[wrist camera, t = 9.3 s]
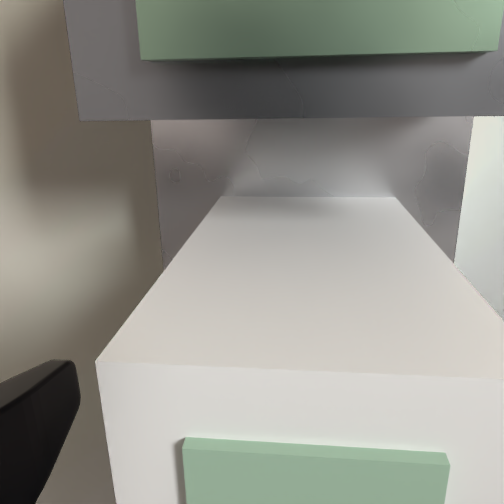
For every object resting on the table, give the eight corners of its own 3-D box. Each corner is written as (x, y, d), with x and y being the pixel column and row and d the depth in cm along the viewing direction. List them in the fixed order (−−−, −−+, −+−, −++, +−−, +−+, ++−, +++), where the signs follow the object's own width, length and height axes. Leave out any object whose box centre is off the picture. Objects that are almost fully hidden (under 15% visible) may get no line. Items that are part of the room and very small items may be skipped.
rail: (500, -287, 9) (926, -1096, 3) (397, 556, 16) (455, 830, 10) (141, -252, 9) (-133, -836, 3) (200, 539, 17) (143, 787, 11)
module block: (395, 197, 10) (567, 393, 4) (375, 416, 12) (464, 802, 6) (220, 196, 11) (87, 371, 4) (229, 408, 13) (149, 759, 6)
